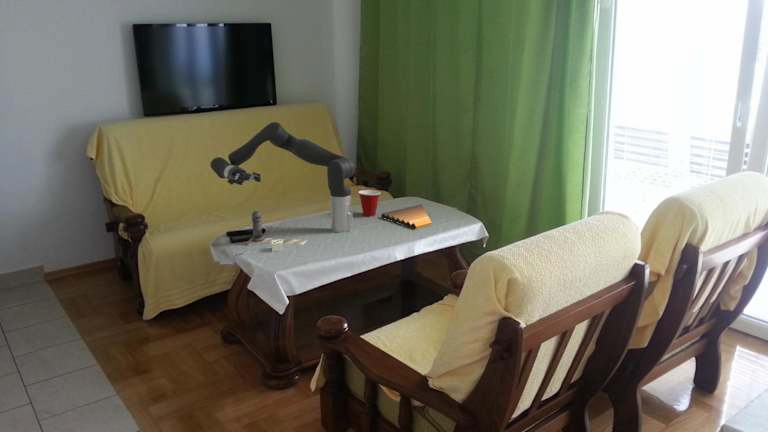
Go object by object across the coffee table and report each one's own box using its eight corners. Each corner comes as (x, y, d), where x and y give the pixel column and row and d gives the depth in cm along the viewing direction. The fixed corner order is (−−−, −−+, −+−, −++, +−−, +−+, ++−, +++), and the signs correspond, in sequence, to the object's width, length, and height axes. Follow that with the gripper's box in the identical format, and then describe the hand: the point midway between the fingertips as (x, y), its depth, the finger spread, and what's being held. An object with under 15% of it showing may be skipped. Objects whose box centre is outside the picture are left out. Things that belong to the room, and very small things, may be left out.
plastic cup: (384, 214, 304) (384, 190, 300) (372, 219, 295) (372, 195, 292) (366, 210, 309) (366, 187, 306) (354, 216, 301) (353, 192, 297)
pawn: (265, 238, 264) (263, 209, 260) (261, 242, 259) (259, 213, 256) (254, 237, 265) (252, 209, 261) (250, 241, 260) (248, 212, 256)
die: (283, 249, 254) (282, 239, 252) (283, 253, 250) (283, 242, 248) (272, 250, 253) (271, 240, 252) (272, 254, 249) (271, 243, 247)
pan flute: (418, 209, 313) (381, 218, 298) (418, 203, 312) (381, 212, 297) (454, 220, 295) (416, 231, 280) (454, 213, 294) (416, 223, 279)
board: (310, 242, 263) (310, 239, 263) (305, 248, 255) (305, 245, 255) (252, 239, 267) (252, 236, 266) (245, 245, 259) (245, 242, 259)
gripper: (219, 168, 275) (234, 175, 263) (249, 164, 283) (264, 170, 271) (221, 184, 278) (235, 192, 265) (250, 180, 286) (265, 187, 273)
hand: (250, 181), depth 268 cm, fingers open, 8 cm apart
